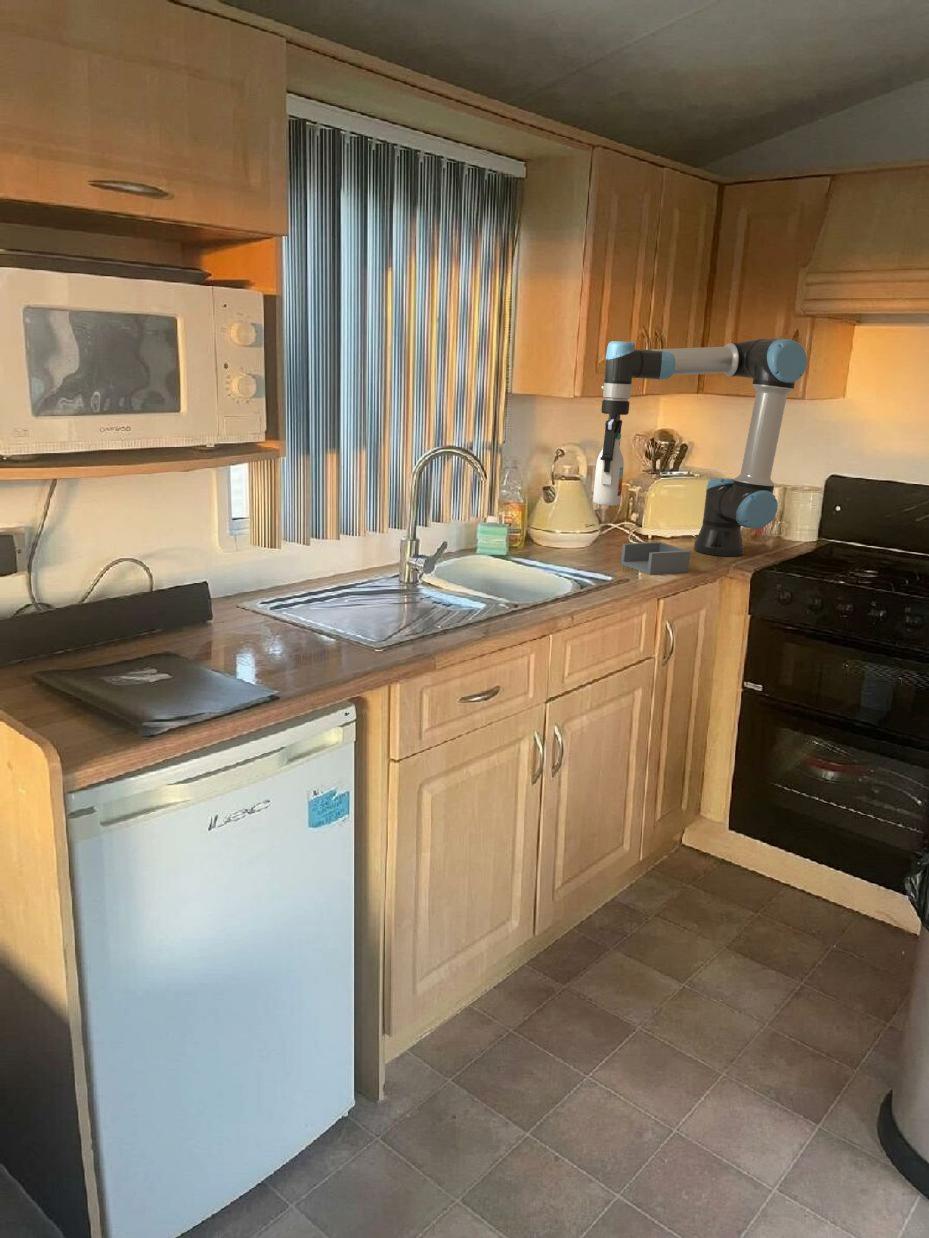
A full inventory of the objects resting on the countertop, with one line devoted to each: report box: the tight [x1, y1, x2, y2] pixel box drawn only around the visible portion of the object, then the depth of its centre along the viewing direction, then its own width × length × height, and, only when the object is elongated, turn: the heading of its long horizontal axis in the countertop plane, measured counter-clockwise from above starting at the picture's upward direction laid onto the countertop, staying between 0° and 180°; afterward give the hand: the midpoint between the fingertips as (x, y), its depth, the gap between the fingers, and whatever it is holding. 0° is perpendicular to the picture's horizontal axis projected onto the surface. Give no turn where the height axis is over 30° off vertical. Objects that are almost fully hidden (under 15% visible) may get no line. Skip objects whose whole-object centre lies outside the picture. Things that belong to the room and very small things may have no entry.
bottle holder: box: [620, 541, 691, 575], centre depth 273 cm, size 13×13×6 cm
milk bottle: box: [592, 433, 624, 507], centre depth 271 cm, size 8×8×20 cm
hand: (608, 482), depth 272 cm, fingers closed on milk bottle, 7 cm apart
